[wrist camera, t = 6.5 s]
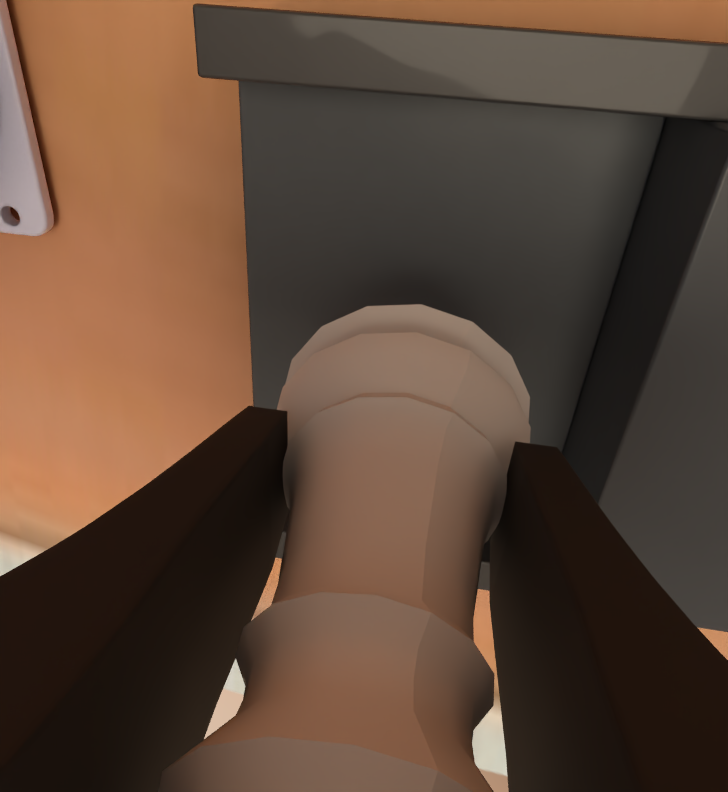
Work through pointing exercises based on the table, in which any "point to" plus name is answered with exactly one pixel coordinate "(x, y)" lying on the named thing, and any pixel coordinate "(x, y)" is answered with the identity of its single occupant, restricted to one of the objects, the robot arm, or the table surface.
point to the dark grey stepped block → (509, 235)
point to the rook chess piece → (375, 565)
